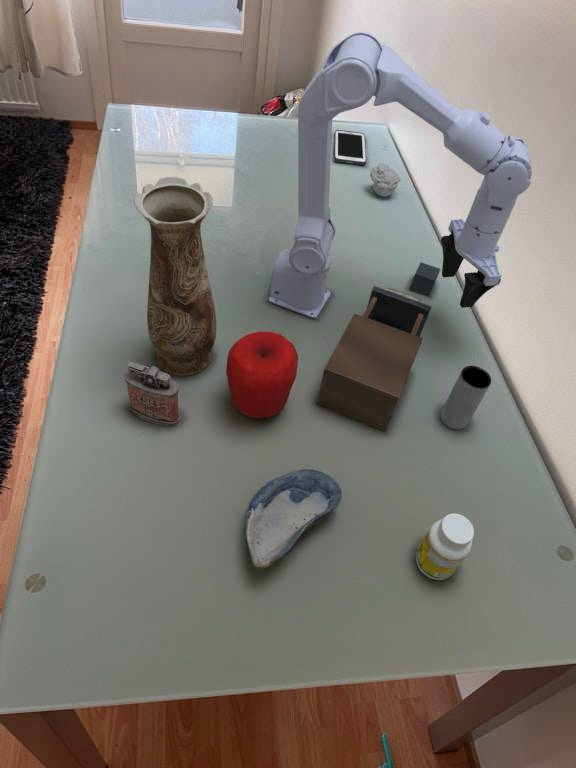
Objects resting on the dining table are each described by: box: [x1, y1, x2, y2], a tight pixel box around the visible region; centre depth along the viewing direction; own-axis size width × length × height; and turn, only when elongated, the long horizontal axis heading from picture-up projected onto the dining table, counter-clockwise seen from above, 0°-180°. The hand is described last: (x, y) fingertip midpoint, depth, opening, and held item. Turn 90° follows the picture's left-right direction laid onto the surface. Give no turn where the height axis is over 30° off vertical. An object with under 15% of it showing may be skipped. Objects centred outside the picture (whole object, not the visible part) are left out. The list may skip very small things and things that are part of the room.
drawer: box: [362, 285, 432, 337], centre depth 100 cm, size 17×10×7 cm, turn 157°
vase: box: [133, 176, 217, 377], centre depth 85 cm, size 10×11×30 cm
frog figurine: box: [369, 162, 402, 198], centre depth 132 cm, size 6×7×7 cm
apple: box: [225, 331, 299, 419], centre depth 87 cm, size 10×10×14 cm
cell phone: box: [333, 129, 367, 166], centre depth 146 cm, size 8×15×1 cm, turn 177°
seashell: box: [245, 468, 343, 569], centre depth 77 cm, size 15×12×5 cm
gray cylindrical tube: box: [439, 365, 492, 430], centre depth 90 cm, size 4×4×10 cm
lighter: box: [124, 361, 181, 427], centre depth 85 cm, size 8×3×10 cm, turn 71°
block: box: [409, 261, 441, 297], centre depth 113 cm, size 4×4×4 cm
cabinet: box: [316, 312, 423, 433], centre depth 93 cm, size 14×12×9 cm
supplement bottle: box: [415, 513, 475, 581], centre depth 74 cm, size 5×5×10 cm
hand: (456, 290), depth 100 cm, fingers open, 7 cm apart
